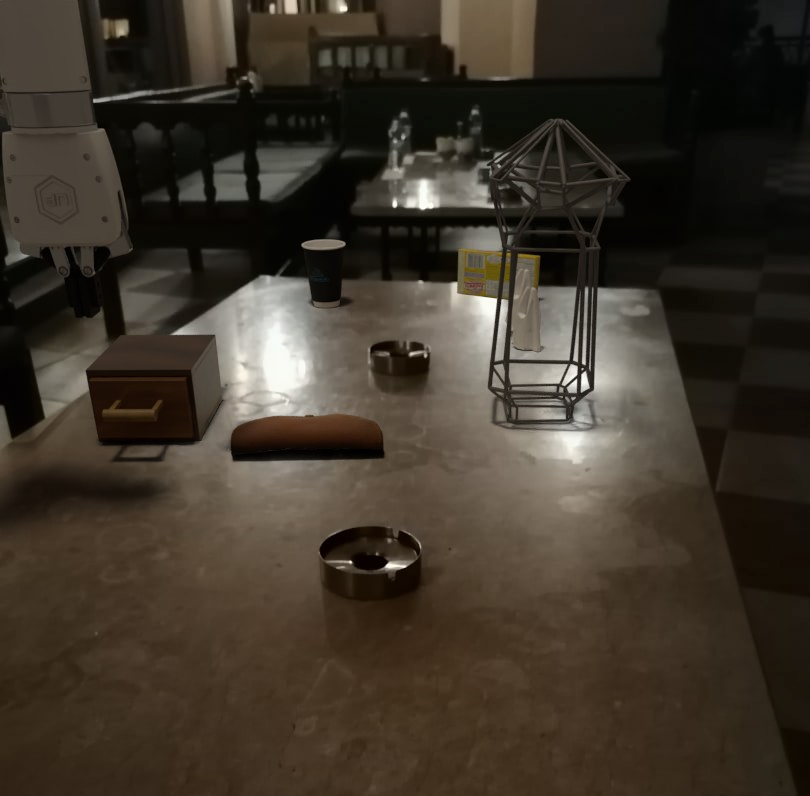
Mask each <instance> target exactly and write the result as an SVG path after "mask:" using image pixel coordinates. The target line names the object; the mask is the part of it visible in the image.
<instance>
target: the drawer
mask: <svg viewBox="0 0 810 796" xmlns="http://www.w3.org/2000/svg"><path fill="white" fill-rule="evenodd" d="M89 386H90V391H91V397H92V402H93V407H94V413H95V418H96V423H97V429H98V434H99V438H192V437H193V435H194V428H193V421H192V413H191V406H190V398H189V390H188V383H187V377H185V376H173V377H131V376H102V378H91V379H90V380H89Z"/></svg>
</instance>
